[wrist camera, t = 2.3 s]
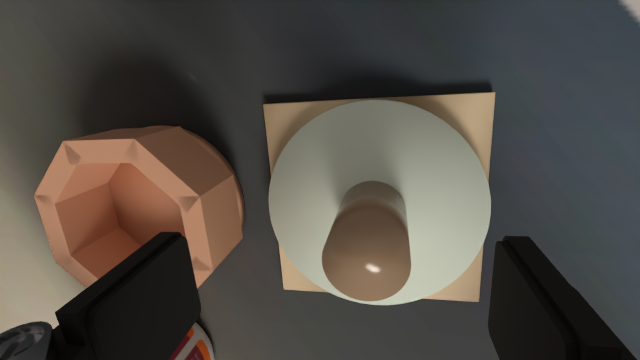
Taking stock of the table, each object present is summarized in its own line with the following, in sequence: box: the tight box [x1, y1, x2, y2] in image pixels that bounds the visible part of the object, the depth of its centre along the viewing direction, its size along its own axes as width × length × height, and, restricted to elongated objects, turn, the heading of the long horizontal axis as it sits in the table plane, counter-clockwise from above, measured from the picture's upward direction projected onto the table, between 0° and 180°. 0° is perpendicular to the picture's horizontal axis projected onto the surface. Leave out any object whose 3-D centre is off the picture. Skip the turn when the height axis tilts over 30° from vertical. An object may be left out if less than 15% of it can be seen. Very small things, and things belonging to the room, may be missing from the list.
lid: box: [269, 99, 491, 305], centre depth 14 cm, size 10×10×5 cm
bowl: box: [34, 125, 245, 288], centre depth 18 cm, size 8×8×4 cm
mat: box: [263, 92, 495, 302], centre depth 17 cm, size 10×10×1 cm
